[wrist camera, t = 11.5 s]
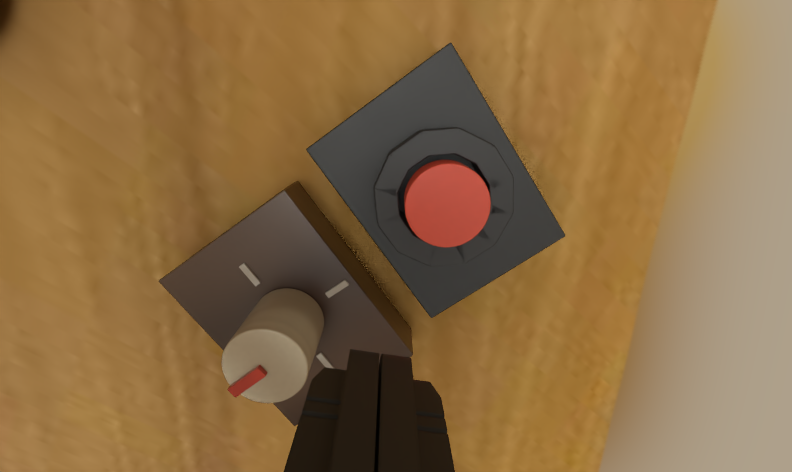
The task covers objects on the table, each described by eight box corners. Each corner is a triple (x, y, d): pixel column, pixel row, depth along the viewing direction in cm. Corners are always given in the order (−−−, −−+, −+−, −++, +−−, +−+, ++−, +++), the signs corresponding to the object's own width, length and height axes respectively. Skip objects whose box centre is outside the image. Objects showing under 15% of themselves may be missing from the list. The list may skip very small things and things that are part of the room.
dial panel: (411, 329, 26) (413, 356, 23) (304, 394, 28) (293, 428, 24) (297, 180, 23) (283, 190, 20) (185, 262, 25) (156, 282, 22)
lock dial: (292, 274, 22) (265, 316, 17) (338, 325, 23) (324, 378, 18) (239, 313, 22) (199, 364, 18) (286, 362, 23) (260, 422, 19)
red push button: (497, 209, 20) (506, 217, 18) (432, 251, 21) (435, 263, 19) (455, 142, 19) (461, 145, 17) (388, 189, 20) (387, 196, 18)
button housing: (551, 225, 24) (580, 246, 20) (428, 302, 26) (434, 334, 22) (445, 49, 21) (456, 34, 17) (313, 146, 23) (297, 152, 19)
